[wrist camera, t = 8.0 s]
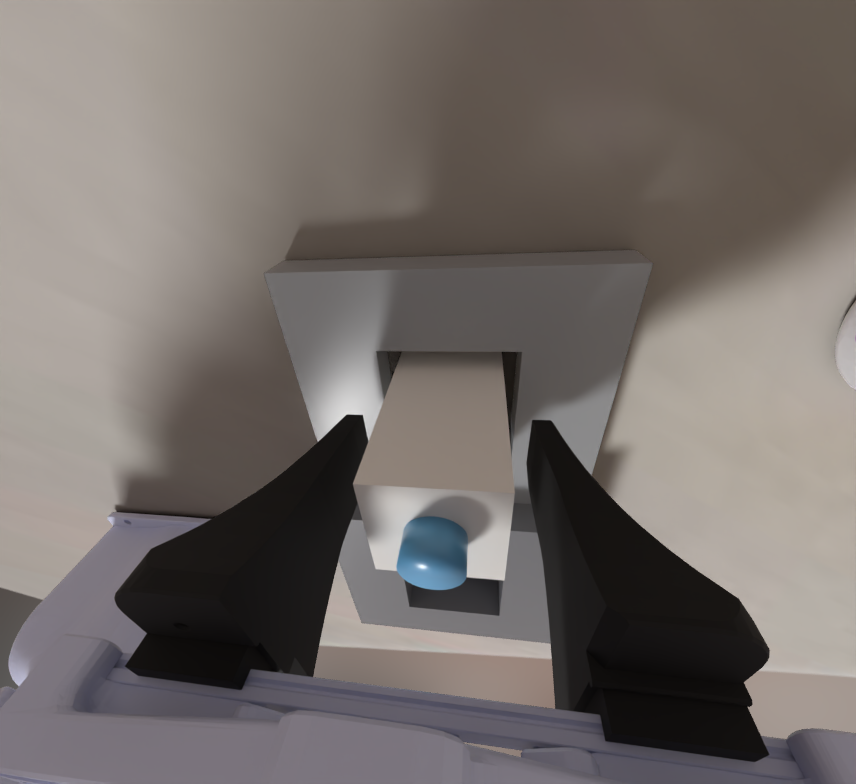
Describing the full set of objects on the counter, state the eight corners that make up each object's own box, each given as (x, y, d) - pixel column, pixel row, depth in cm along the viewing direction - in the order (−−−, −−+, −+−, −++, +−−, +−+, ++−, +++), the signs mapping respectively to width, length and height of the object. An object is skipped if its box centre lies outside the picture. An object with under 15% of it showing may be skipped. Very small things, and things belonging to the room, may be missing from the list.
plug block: (410, 425, 17) (367, 602, 11) (402, 350, 15) (340, 518, 8) (496, 427, 17) (506, 616, 10) (501, 351, 14) (518, 530, 8)
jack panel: (372, 577, 26) (361, 623, 23) (283, 260, 13) (239, 288, 11) (546, 592, 24) (554, 643, 22) (635, 249, 12) (676, 279, 9)
